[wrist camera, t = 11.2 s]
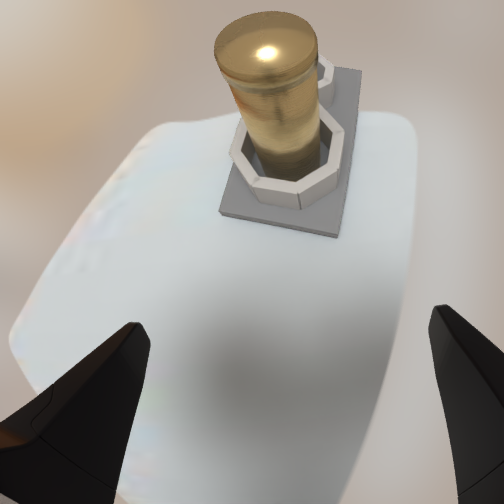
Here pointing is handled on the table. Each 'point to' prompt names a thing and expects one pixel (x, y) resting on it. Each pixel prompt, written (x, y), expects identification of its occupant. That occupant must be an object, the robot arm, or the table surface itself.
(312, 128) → the gold metal cylinder
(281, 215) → the manifold plate
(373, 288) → the table surface
